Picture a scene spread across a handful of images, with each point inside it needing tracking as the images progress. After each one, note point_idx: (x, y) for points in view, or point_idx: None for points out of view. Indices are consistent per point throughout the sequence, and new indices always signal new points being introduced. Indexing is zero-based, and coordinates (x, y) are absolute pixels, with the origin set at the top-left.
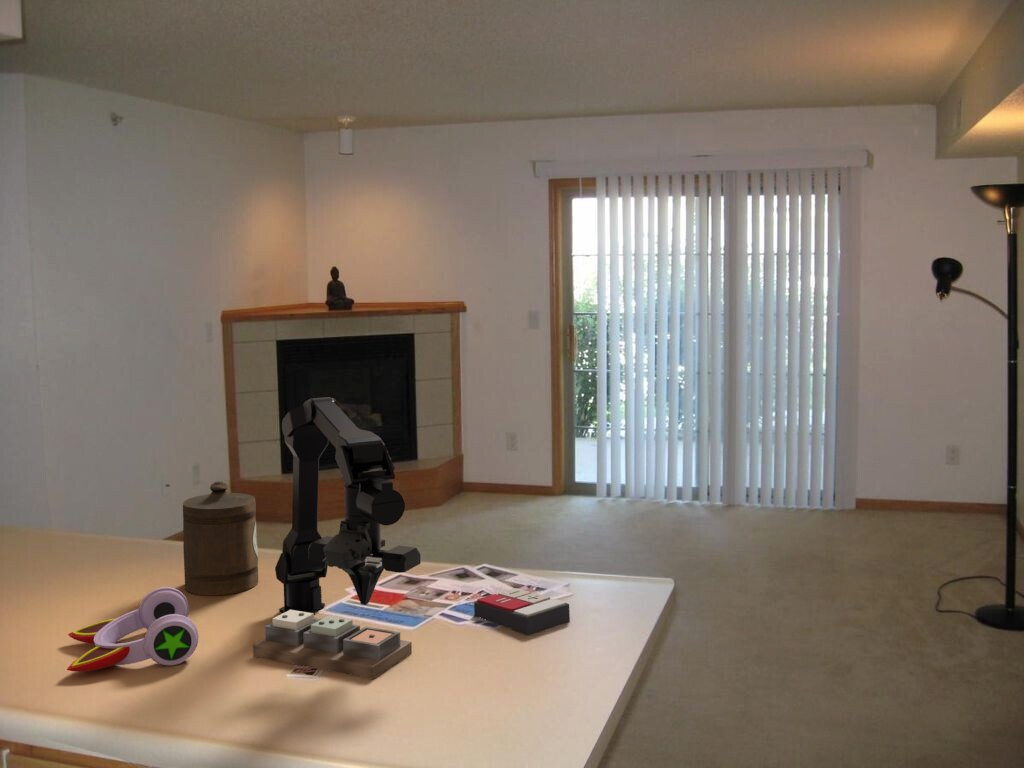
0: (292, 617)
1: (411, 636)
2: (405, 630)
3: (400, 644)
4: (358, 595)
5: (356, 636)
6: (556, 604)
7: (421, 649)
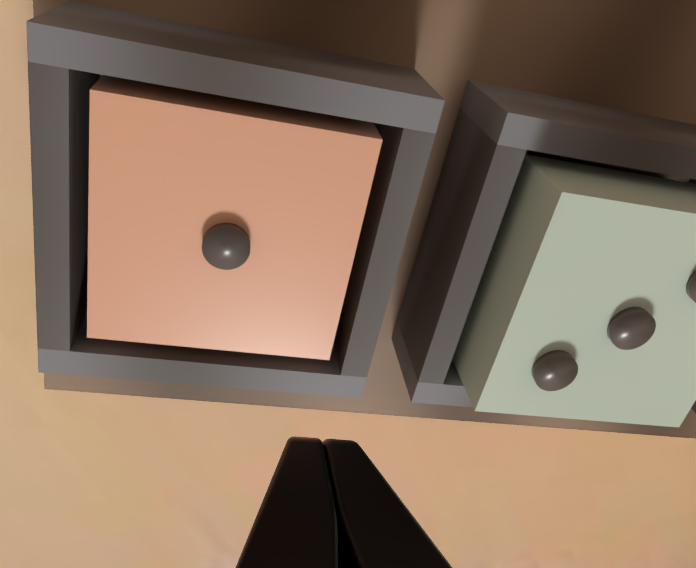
0: None
1: (193, 514)
2: None
3: None
4: (407, 530)
5: (358, 214)
6: None
7: (43, 401)
